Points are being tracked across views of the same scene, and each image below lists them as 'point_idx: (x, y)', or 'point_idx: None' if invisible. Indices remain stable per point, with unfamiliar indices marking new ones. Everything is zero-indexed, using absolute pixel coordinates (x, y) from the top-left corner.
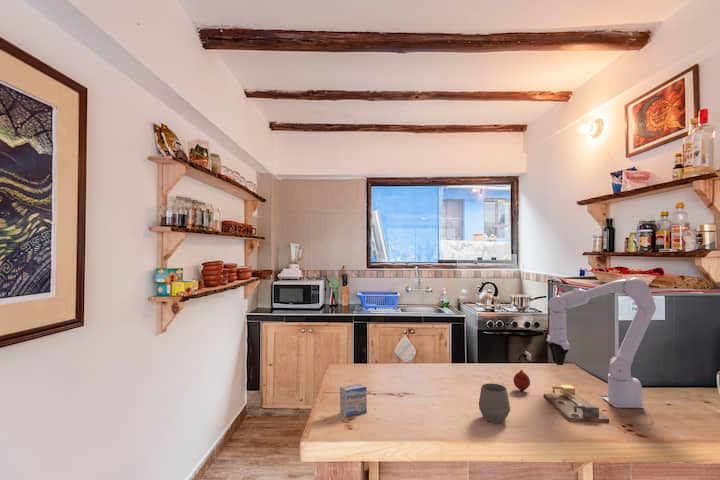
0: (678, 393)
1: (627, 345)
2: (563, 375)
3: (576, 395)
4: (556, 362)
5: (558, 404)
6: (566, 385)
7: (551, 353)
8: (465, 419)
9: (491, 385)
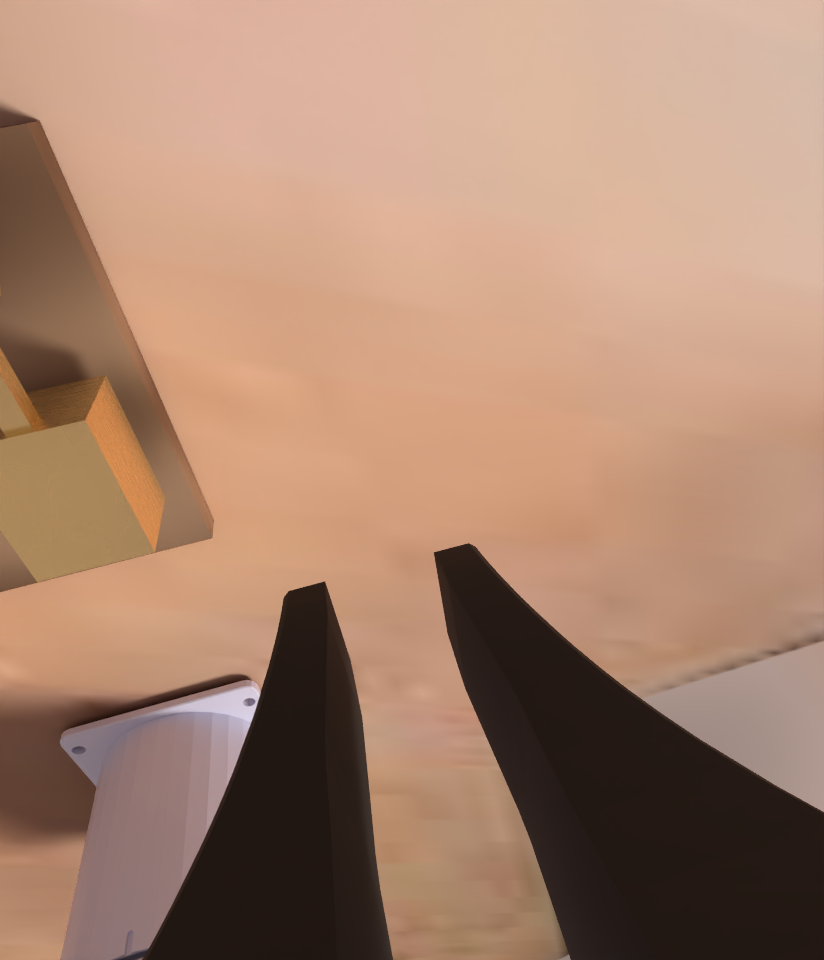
0: (475, 911)
1: None
2: (807, 479)
3: (167, 525)
4: (292, 620)
5: None
6: (114, 503)
7: (593, 671)
8: None
9: None
